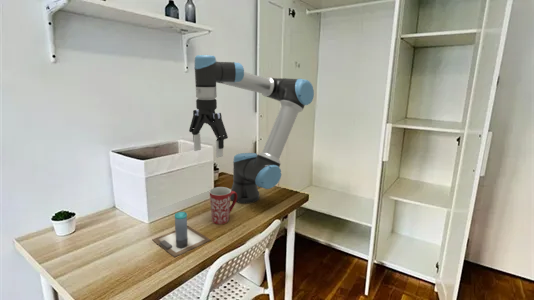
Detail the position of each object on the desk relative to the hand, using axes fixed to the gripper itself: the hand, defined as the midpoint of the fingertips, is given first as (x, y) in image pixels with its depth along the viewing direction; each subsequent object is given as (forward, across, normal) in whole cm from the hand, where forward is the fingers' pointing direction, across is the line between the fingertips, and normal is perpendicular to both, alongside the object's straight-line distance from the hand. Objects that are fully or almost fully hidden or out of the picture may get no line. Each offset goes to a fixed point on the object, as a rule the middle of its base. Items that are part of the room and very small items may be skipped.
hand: (208, 153), depth 115 cm
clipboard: (+30, +3, -16) cm, 34 cm away
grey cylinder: (+29, +7, -18) cm, 35 cm away
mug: (+30, +2, +6) cm, 31 cm away
